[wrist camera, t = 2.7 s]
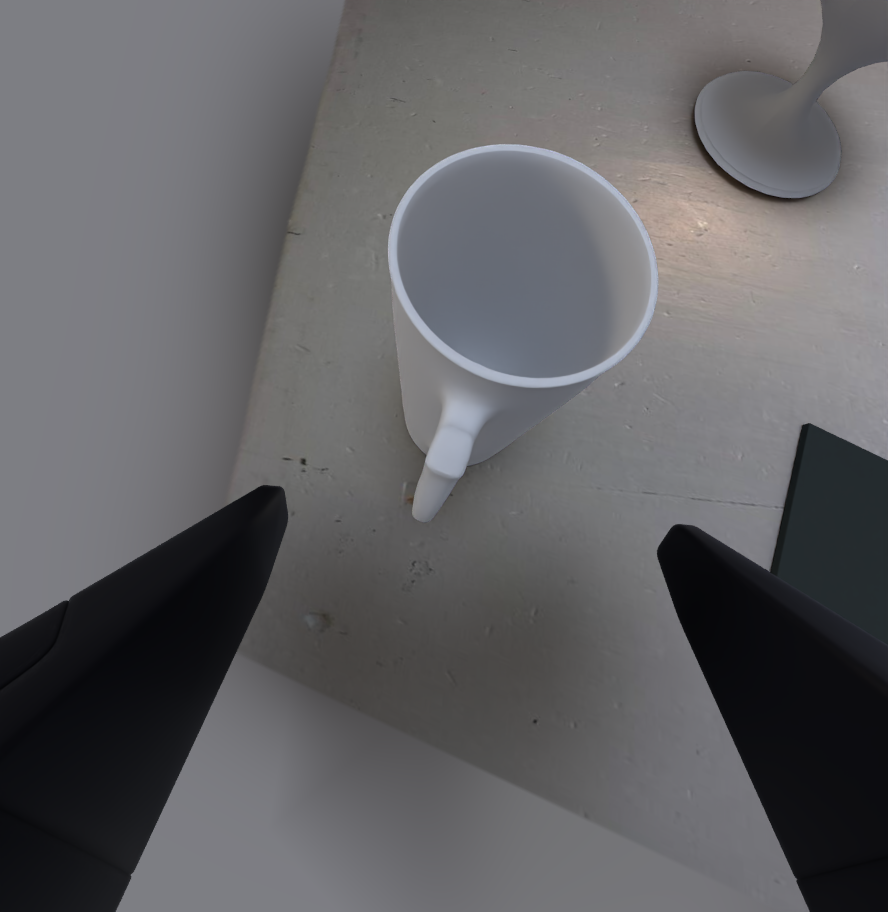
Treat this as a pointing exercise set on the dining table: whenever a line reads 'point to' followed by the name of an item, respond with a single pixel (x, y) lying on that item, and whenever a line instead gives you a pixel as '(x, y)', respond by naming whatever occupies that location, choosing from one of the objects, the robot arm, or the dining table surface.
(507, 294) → the mug
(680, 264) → the dining table surface
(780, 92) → the chalice
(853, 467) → the mat
